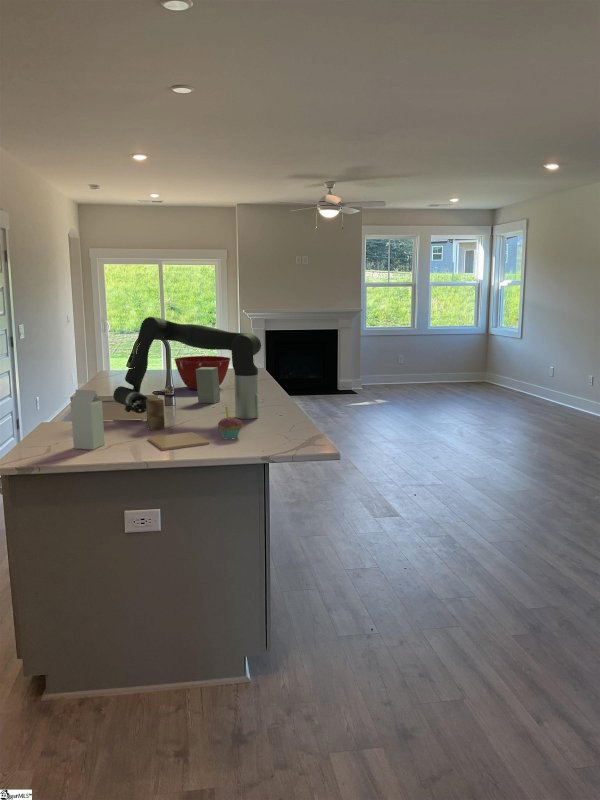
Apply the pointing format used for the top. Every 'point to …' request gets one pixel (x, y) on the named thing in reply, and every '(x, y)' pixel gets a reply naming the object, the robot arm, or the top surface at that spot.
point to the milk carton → (87, 420)
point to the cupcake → (230, 426)
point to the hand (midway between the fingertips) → (149, 409)
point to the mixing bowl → (192, 363)
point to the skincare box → (208, 385)
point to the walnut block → (155, 413)
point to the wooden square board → (178, 441)
